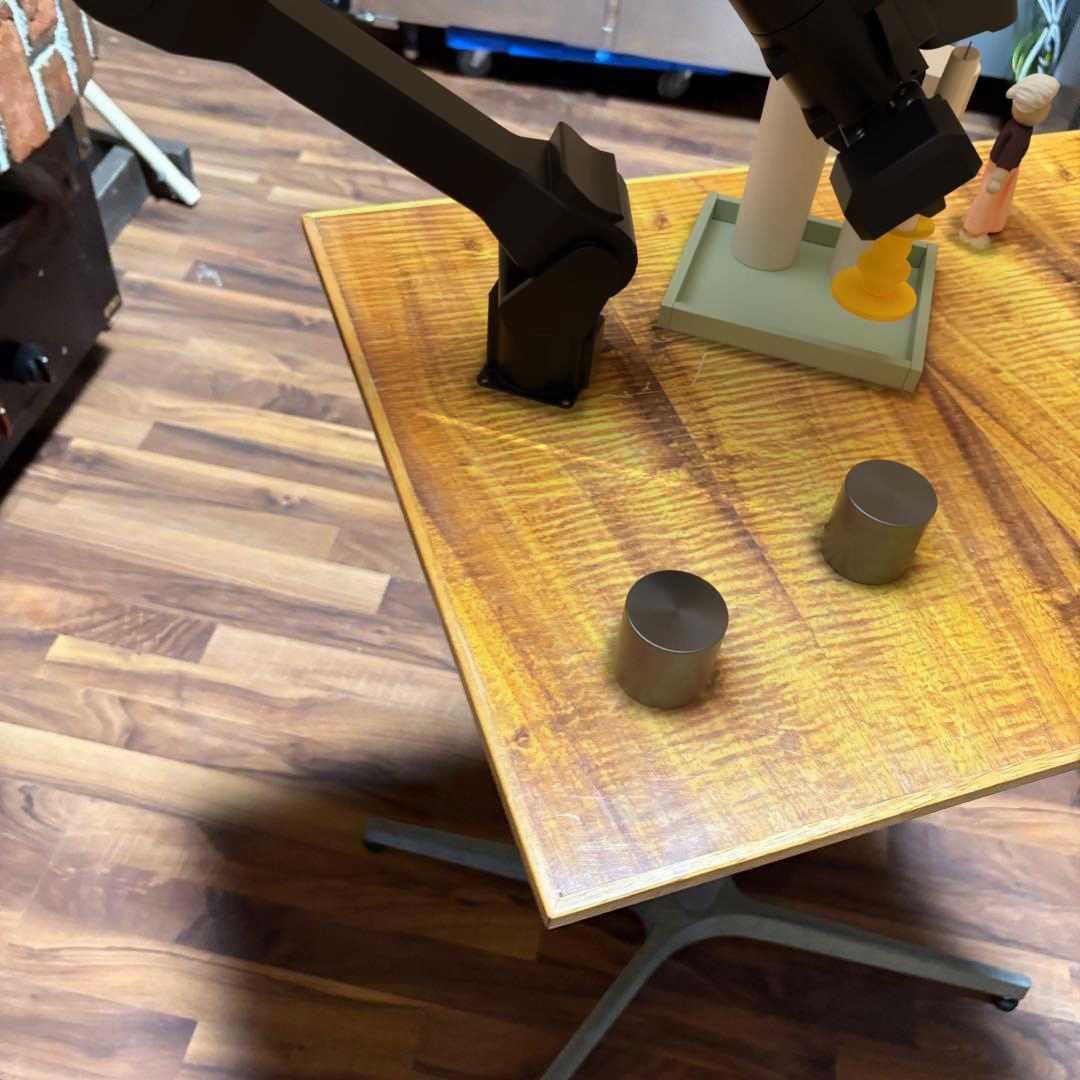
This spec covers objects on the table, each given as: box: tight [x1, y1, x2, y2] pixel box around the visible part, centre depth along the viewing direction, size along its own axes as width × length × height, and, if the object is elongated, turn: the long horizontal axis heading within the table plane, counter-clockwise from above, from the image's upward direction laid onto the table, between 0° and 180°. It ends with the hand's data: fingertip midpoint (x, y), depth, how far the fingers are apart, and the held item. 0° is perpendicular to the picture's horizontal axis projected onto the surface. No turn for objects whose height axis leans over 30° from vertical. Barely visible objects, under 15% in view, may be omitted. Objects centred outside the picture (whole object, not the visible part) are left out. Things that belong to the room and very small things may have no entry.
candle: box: [831, 40, 982, 322], centre depth 58 cm, size 5×5×16 cm
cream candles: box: [730, 44, 982, 280], centre depth 70 cm, size 12×5×16 cm, turn 72°
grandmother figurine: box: [958, 72, 1061, 247], centre depth 77 cm, size 8×4×13 cm, turn 168°
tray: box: [656, 190, 939, 394], centre depth 73 cm, size 18×16×2 cm
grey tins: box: [612, 458, 939, 710], centre depth 54 cm, size 5×20×5 cm, turn 125°
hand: (934, 205), depth 59 cm, fingers closed on candle
